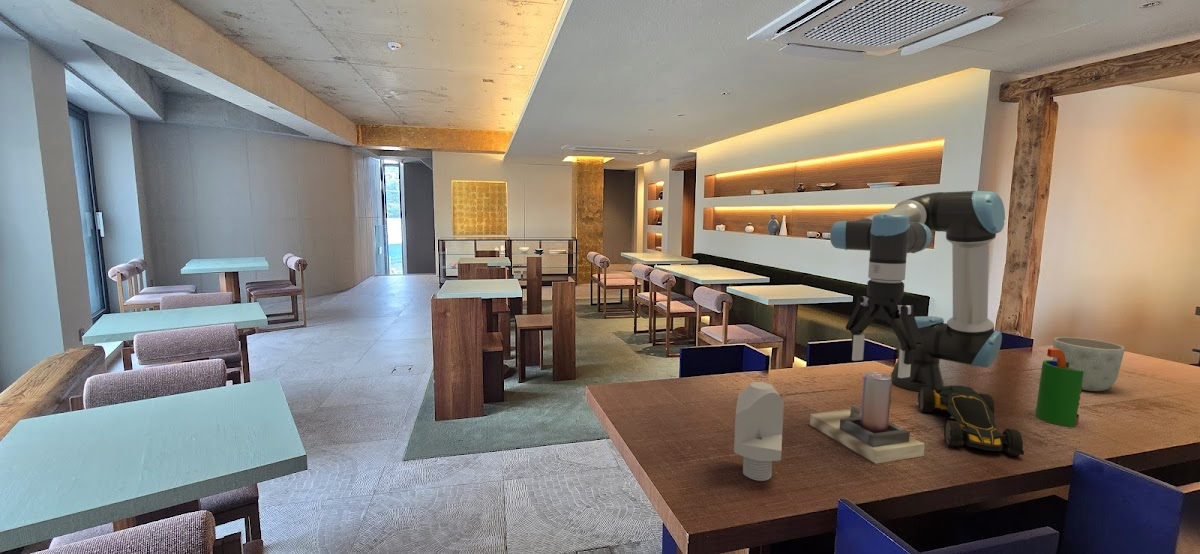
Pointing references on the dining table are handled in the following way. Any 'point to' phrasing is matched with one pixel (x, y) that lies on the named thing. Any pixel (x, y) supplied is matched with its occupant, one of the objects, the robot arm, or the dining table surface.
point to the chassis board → (867, 436)
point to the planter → (1092, 360)
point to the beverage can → (876, 402)
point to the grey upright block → (759, 429)
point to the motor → (1059, 391)
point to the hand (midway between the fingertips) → (879, 368)
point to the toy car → (969, 419)
